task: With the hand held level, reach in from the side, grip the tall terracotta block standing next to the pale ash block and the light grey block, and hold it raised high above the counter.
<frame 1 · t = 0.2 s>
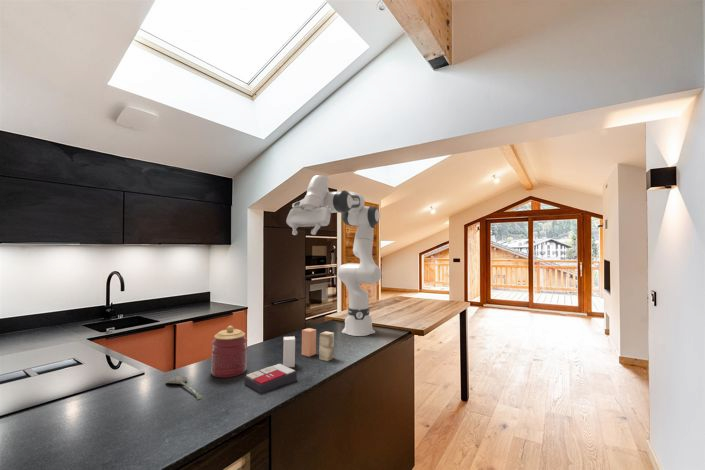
hand: (303, 234, 138), 54 cm above the counter, tool tilted 30°, fingers open, 8 cm apart
grey axe: (185, 390, 113), on the counter
terracotta block: (308, 354, 150), on the counter
flat patterned box: (270, 383, 119), on the counter
ash block: (326, 358, 144), on the counter
grey block: (288, 365, 136), on the counter
canister: (229, 372, 128), on the counter
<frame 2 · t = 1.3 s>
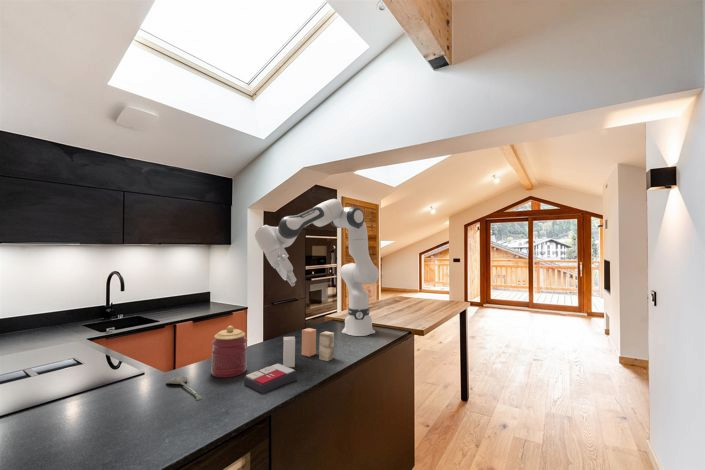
hand: (294, 283, 148), 32 cm above the counter, tool tilted 35°, fingers open, 8 cm apart
nothing on the counter moved.
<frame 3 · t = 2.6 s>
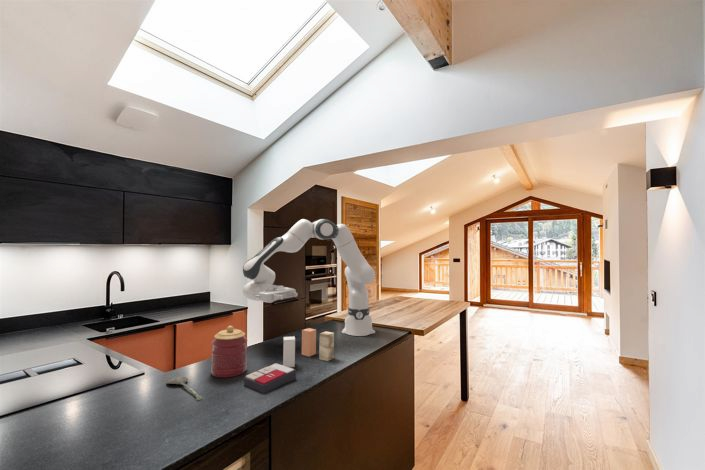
hand: (289, 296, 157), 25 cm above the counter, tool horizontal, fingers open, 8 cm apart
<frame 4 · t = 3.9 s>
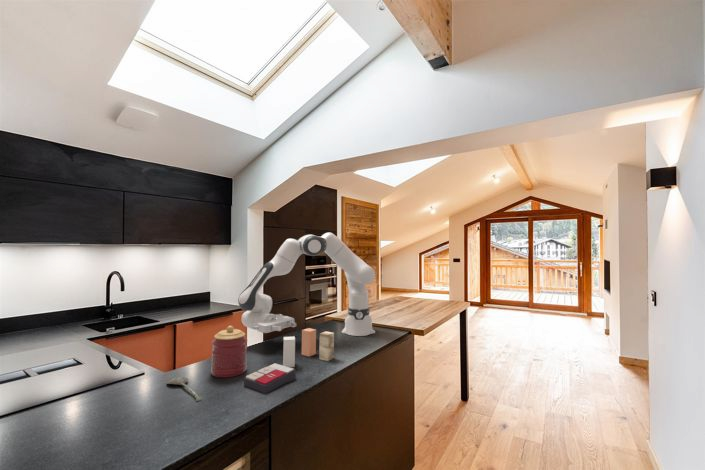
hand: (288, 327, 156), 10 cm above the counter, tool horizontal, fingers open, 8 cm apart
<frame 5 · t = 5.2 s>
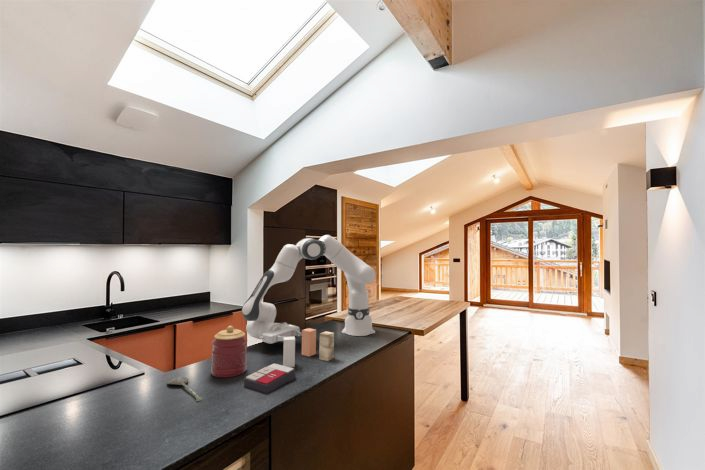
hand: (293, 336, 155), 6 cm above the counter, tool horizontal, fingers open, 8 cm apart
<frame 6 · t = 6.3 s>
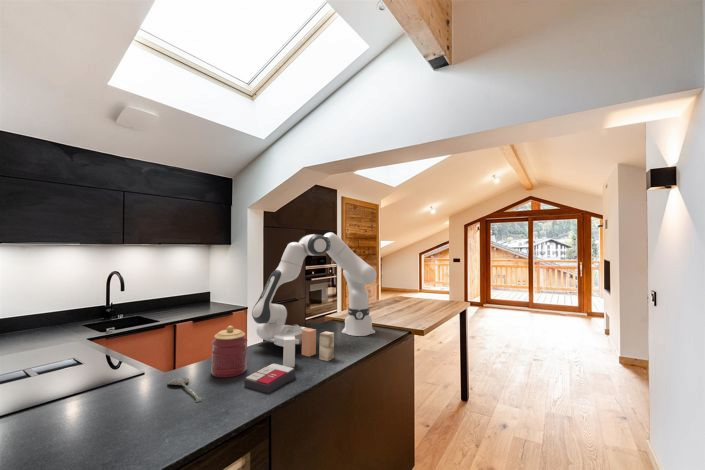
hand: (306, 339, 151), 6 cm above the counter, tool horizontal, fingers open, 8 cm apart
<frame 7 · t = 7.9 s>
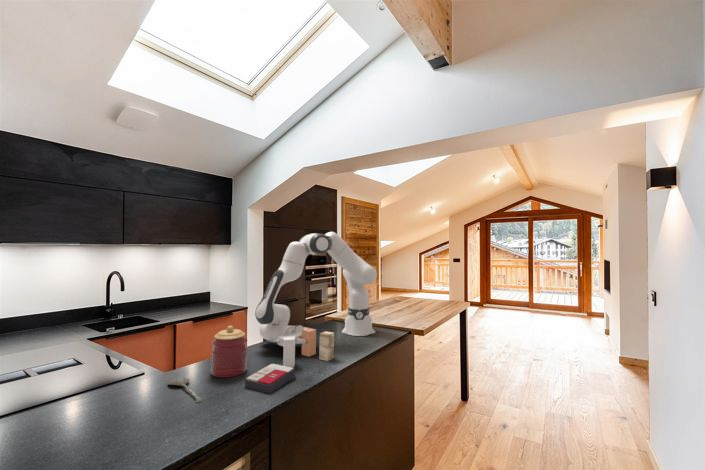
hand: (310, 340, 149), 7 cm above the counter, tool horizontal, fingers closed on terracotta block, 4 cm apart
terracotta block: (308, 354, 150), on the counter, touching gripper
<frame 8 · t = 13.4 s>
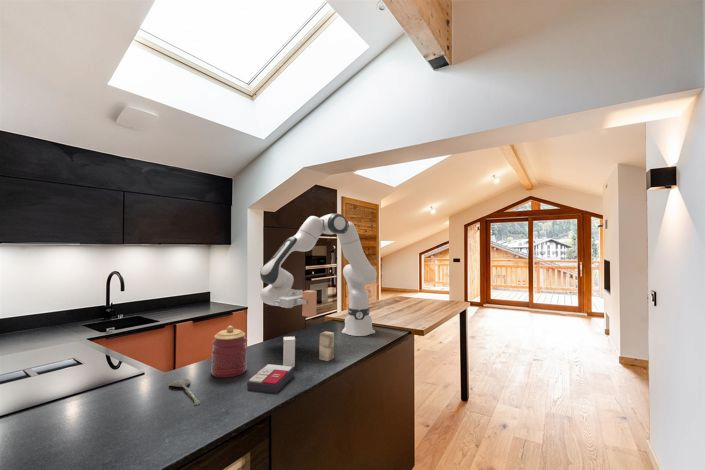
hand: (311, 301, 150), 24 cm above the counter, tool horizontal, fingers closed on terracotta block, 4 cm apart
grey axe: (186, 394, 110), on the counter
terracotta block: (309, 315, 150), point 17 cm above the counter, touching gripper
at the end: terracotta block point 17.4 cm above the counter; ash block moved 0.0 cm from its start; grey block moved 0.0 cm from its start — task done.
